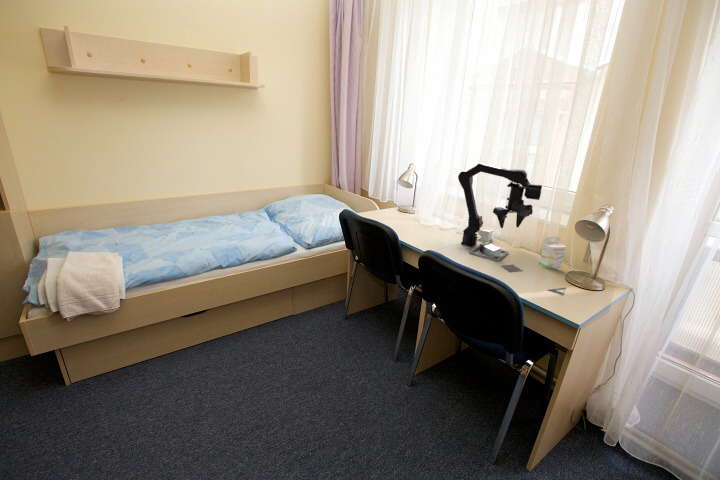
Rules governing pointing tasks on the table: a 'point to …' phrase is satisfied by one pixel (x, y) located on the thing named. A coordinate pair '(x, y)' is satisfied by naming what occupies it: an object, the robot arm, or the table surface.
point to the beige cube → (485, 235)
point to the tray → (477, 249)
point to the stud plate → (511, 268)
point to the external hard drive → (558, 290)
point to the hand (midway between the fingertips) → (509, 227)
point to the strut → (490, 250)
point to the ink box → (552, 253)
